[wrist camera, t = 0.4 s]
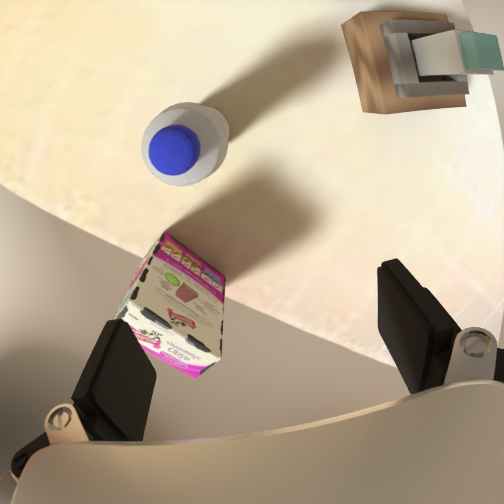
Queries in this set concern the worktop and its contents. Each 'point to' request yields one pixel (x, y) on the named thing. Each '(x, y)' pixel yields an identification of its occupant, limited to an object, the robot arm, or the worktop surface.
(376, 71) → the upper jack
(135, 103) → the worktop surface
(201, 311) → the candy bar box
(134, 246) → the worktop surface
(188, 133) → the bottle
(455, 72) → the plug
